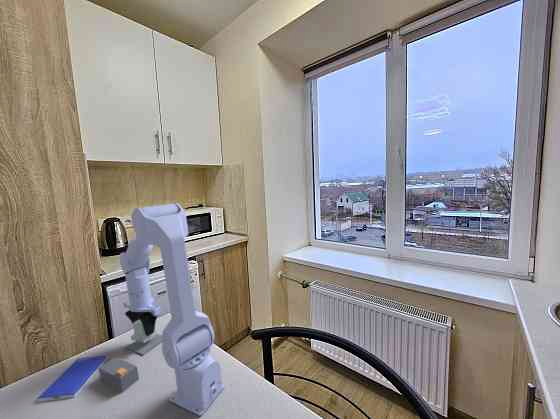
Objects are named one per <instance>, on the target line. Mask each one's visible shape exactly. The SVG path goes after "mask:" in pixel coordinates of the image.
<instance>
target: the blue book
mask: <svg viewBox="0 0 560 419" xmlns="http://www.w3.org/2000/svg"><path fill="white" fill-rule="evenodd" d="M108 359H109V358H108V355H107V354H105V355H99V356H89V357H88V356H87V357H81V358H77V359H76V360H75V361H74V362H73V363H72V364H71V365H69V367H68V368H67V369H66V370H65V371H63V373H61V375H59V377H57V379H56V380H54V382H52V383H51V384H50V385H49V386H48V387H47V388H46V389H45V390H44V391H43V392H42V393H41V394H40V395H39V396H38V397H37V398H36V399H37V402H38V403H39V402H46V401H54V400H64V399H68V398H69V399H70V398H75V397H76V396H77V395H78V394H79V393H80V392H81V390H82V389H83V388H84V387H85V386H86V384H88V382H89V381H90V380H91V379H92V378H93V377H94V375H95V374H96V373H97V371H99V367H101V366H102V365H104V364H105V363H106V361H107V360H108Z"/></svg>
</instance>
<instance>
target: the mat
mask: <svg viewBox="0 0 560 419" xmlns="http://www.w3.org/2000/svg"><path fill="white" fill-rule="evenodd" d="M162 335H163V334H159V333H156V335H155V336H154V337H152V338H151V339H149V340H148V341H146V342H145V343H143V342H140V341H137V340H136V341H133V342H132V343H130V344H129V345H126V346H125V349H126V350H129V351H131V352H133V353H136V354H138V355H141V356H145V355H146V354H148V353H149V352H150V351H152V350H153V349H155V347H157V346H159V345H161V343H163V340H162Z"/></svg>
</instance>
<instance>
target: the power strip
mask: <svg viewBox="0 0 560 419" xmlns="http://www.w3.org/2000/svg"><path fill="white" fill-rule="evenodd" d="M98 372H99V377H100V381H101V382H103V383H105V384H107V385H109V386H111V387H112V388H113V389H114V388H115V389H116V390H118V391H119V392H122V393H124V392H125V391H127V389H129V388H131V386H132V385H134V384H135V383H136V382H138V381H139V380H140V377H139V372H138V366H137V365H135V364H132V363H130V362H128V361H126V360H123V359H121V358H119V357H117V356H115V357H113V358H111V359H109V361H107V362H104V363H103V365H102V366H101V367H99V369H98Z"/></svg>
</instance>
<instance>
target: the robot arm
mask: <svg viewBox="0 0 560 419" xmlns="http://www.w3.org/2000/svg"><path fill="white" fill-rule="evenodd" d="M186 215H187V214H186V210H184V209H183V207H182V206H181V205H180V204H179V203H178V202H173V203H169V204H160V205H152V206H145V207H135V208H134V209H133V211H132V212H131V217H130V218H131V224H132V225H131V226H132V228H133V231H134V232H135V234H136V236H133V238H132V239H131V240H130V241H129V243H128V246H127V248H126V252H121V253H120V254H119V265H120V267H121V270H122V272H123V273H124V276H125V282H126V288H127V294H128V295H127V296H128V299H126V300H124V301H123V302H122V303H123V307H124V308H125V309H127V308H128V310H127V311H125V313H124V316H126V317H127V318H128V319H129V321H130V322H131V323H132V325H133V323H134V322H135V321H137V320H140V321H141V322H142V324H143V327H144V330H145V333H146V335H147V336H149V335H151V334H152V333H154V329H155V330H156V321H157V318H158V316H159V315H160V314H161V313H162V309H161V308H162V307H161V305H158V304H157V302H156V303H155V300H156V299H155V298H154V297H152V293H151V284H150V279H149V273H150V264H151V263H150V262H151V261H150V260H151V259H150V255H151V253H152V250H153V248H154V247H153V246H157V247H158V248H159V250H160V254H161V255H160V256H161V260H162V265H163V272H164V273H163V274H164V279H165V286H166V290H167V292H166V293H167V296H168V297H167V298H168V303H169V309H170V315H171V318H170V320H169V321H168V322H167V324H166V326H165V327H164V328H163V330H162V332H161V335H162V340H163V342H162V345H161V350H162V351H161V352H162V356H163V358H164V360H165V362H166V364H167V366H168V367H169V368H172V369H173V370H174V375H175V382H176V391H175V392H174V393H173V394H171V396H170V397H169V400H168V401H169V402H171V403H173V404H175V405H177V406H179V407H181V408H183V409H185V410H187V411H188V412H191V413H193V414H196V415H197V416H202V415H203V414H204V413H205V412H206V410H207V409H209V406H210V405H211V404H212V403H213V402H214V400H215V399H216V398H217V397H218V396H219V394H221V392H222V391H223V389H224V388H225V383H223V380H222V372H221V365H220V363H219V362H218V361H217V360H215V359H214V358H213V357H212V356H211V355H210V354H209V353H210V352H211V347H212V346H213V345H214V343H215V337H216V336H215V332H214V328H213V326H212V324H211V320H210V316H208V315H207V314H206V313H204V312H201V311H198V310H196V307H195V299H194V293H193V286H192V280H191V274H190V268H189V262H188V261H189V259H188V254H187V248H186V247H187V246H186V242H185V239H186V238H187V236H189V229H188V228H189V227H188V220H187V216H186Z"/></svg>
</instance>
